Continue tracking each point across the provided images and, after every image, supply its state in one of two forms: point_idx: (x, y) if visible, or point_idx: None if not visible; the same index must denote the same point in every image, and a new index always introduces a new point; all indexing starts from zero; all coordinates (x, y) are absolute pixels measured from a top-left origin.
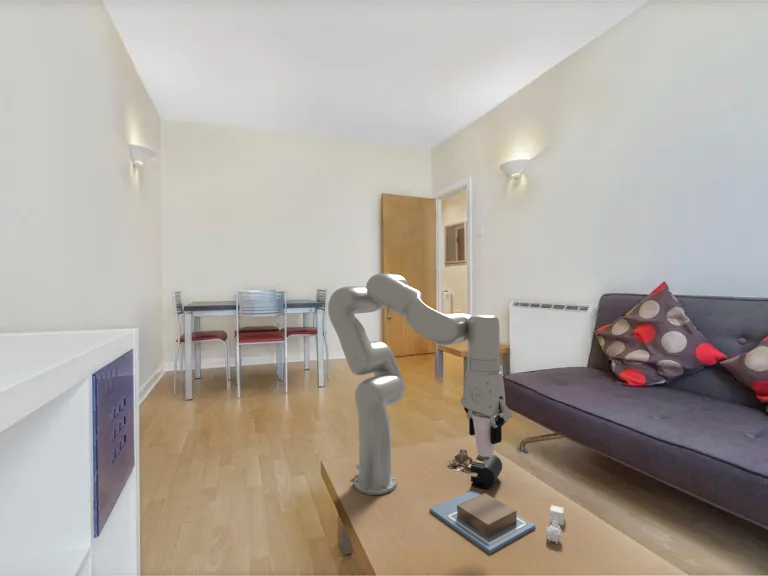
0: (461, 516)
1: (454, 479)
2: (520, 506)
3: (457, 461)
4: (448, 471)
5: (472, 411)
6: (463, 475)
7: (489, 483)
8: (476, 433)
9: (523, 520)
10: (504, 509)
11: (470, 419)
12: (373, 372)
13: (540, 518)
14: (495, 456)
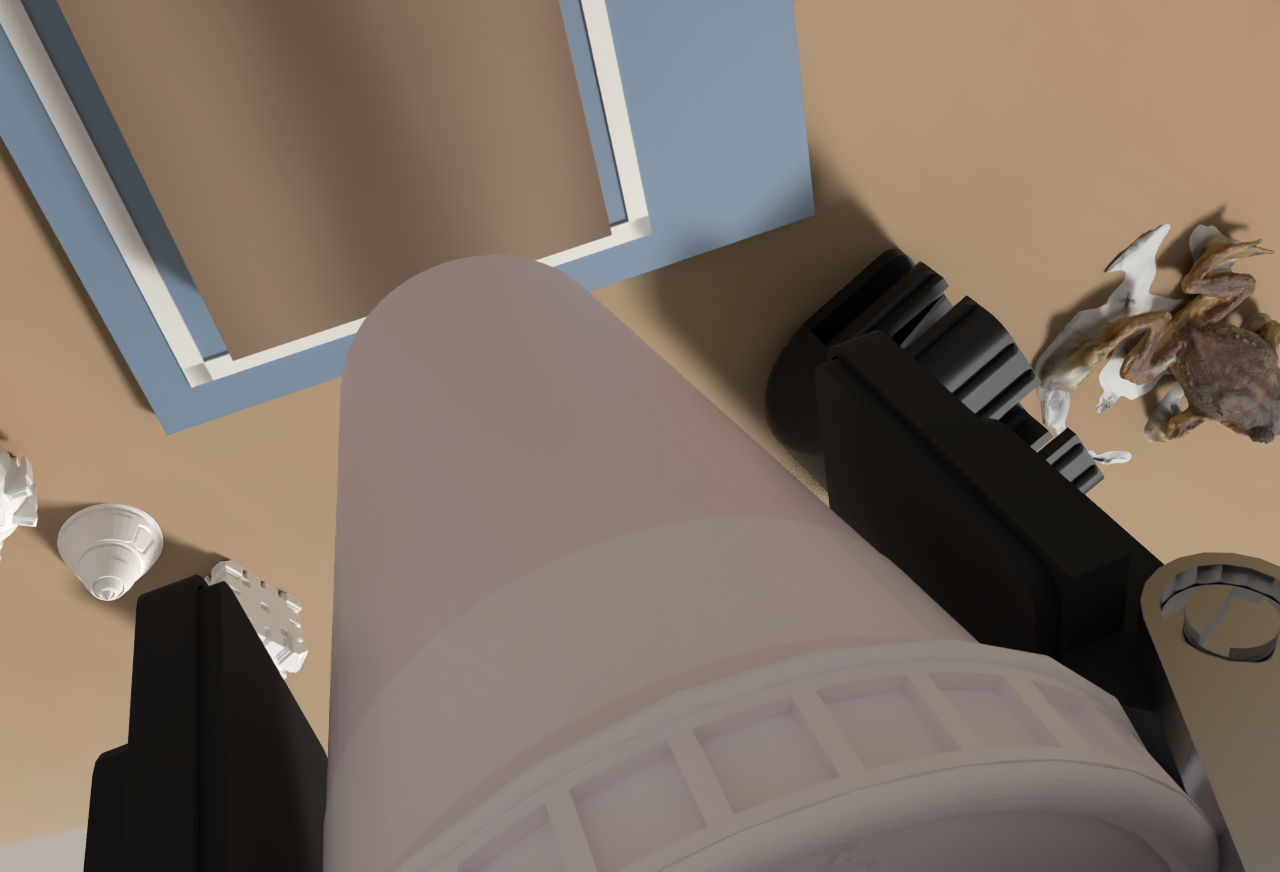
0: None
1: (1050, 162)
2: None
3: (1216, 311)
4: (1171, 177)
5: (1241, 867)
6: (1053, 267)
7: (790, 379)
8: (600, 438)
9: (251, 380)
10: (281, 266)
11: (1095, 586)
12: None
13: (289, 519)
14: None
